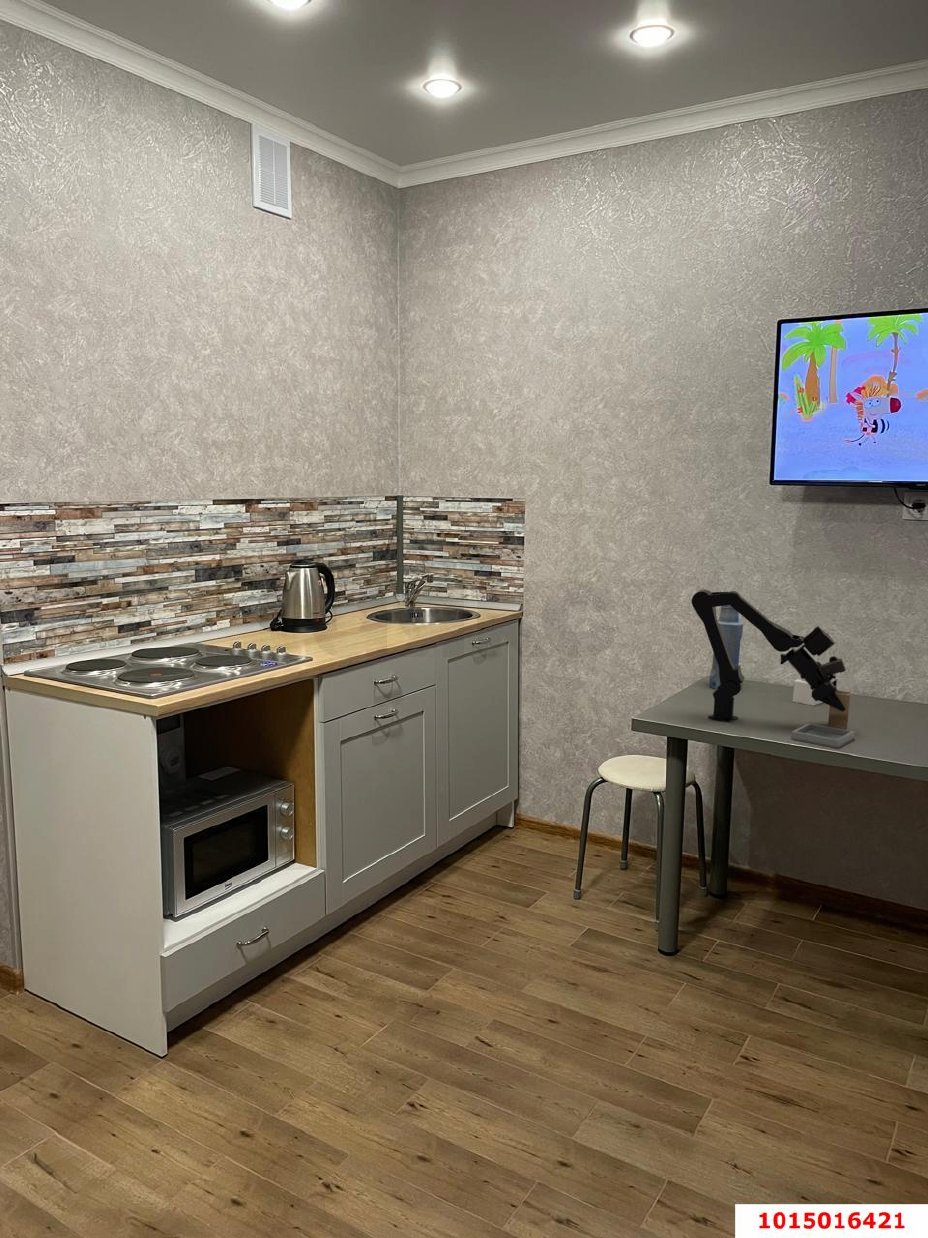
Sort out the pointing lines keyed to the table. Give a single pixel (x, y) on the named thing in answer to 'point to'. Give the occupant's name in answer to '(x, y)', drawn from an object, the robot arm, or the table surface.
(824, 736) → the tray
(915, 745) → the table surface
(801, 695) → the medicine bottle
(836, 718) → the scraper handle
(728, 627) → the bottle
